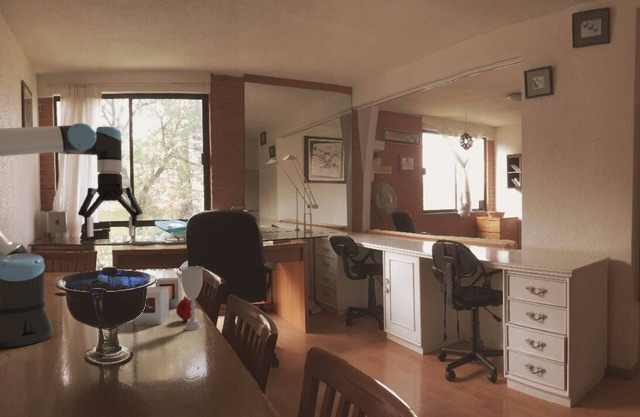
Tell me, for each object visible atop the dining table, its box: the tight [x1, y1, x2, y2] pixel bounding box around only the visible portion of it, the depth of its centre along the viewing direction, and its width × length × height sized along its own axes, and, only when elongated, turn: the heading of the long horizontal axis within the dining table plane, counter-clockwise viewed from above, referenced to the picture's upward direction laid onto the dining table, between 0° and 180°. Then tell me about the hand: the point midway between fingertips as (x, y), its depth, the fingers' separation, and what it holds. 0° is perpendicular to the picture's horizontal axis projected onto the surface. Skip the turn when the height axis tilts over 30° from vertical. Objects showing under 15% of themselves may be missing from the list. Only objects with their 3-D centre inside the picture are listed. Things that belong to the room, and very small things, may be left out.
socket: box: [155, 277, 183, 309], centre depth 158 cm, size 4×8×10 cm, turn 94°
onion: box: [175, 295, 196, 322], centre depth 138 cm, size 6×6×8 cm
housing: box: [133, 286, 170, 326], centre depth 139 cm, size 9×8×10 cm
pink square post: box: [148, 284, 174, 306], centre depth 151 cm, size 18×4×4 cm, turn 4°
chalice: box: [179, 265, 205, 331], centre depth 131 cm, size 7×7×18 cm
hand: (111, 236), depth 147 cm, fingers open, 13 cm apart
